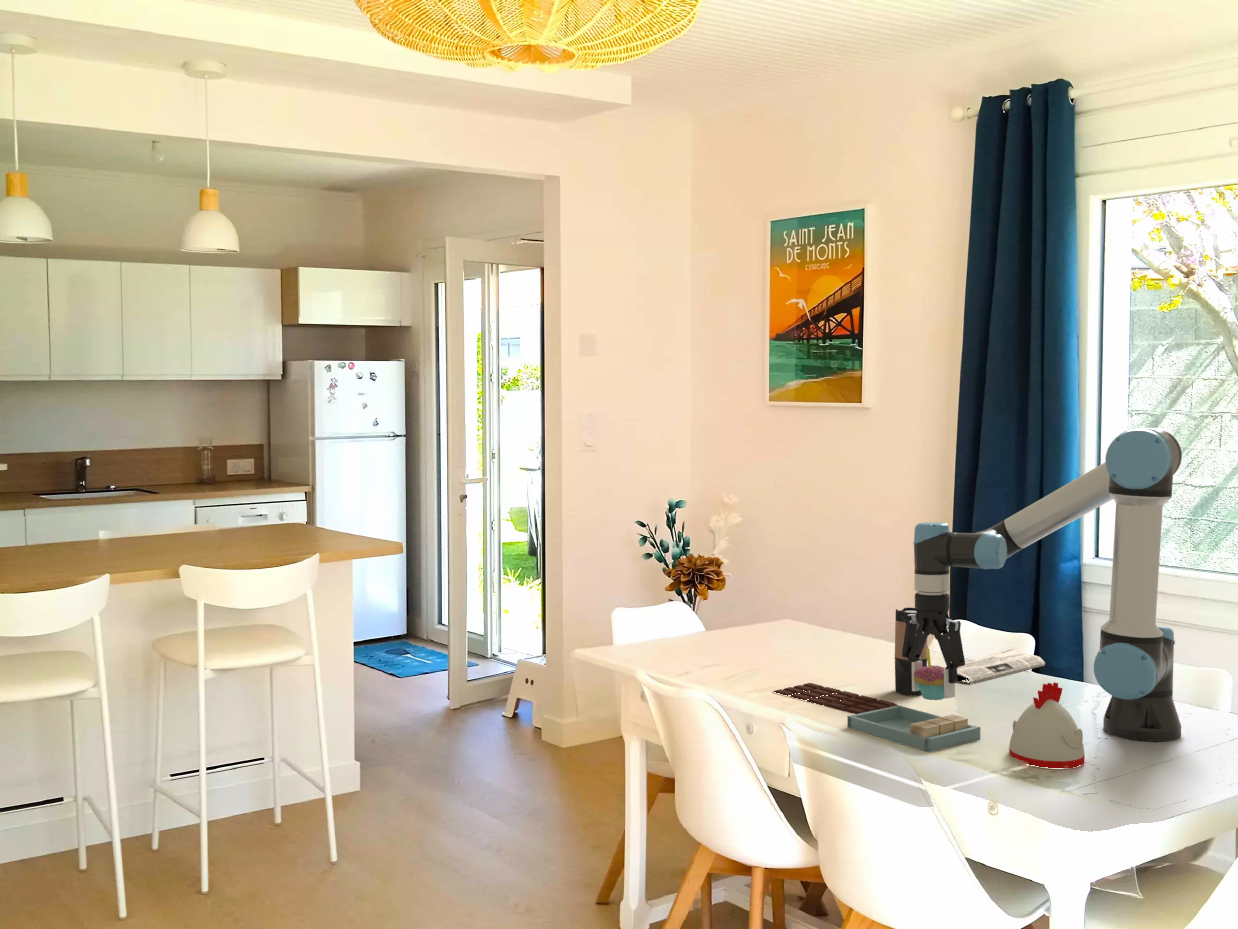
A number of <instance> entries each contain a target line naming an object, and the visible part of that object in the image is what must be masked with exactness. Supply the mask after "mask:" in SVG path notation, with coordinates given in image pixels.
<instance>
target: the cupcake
mask: <svg viewBox="0 0 1238 929" xmlns="http://www.w3.org/2000/svg"><path fill="white" fill-rule="evenodd" d="M928 647H929V646H928V645H927V649H926V652H927V666H925V667H924V666H923V667H922V668H919V669H918V670H916V672H915V673H914V681H915V683H917V684H918V686H919V688H920V691H921V694H922V695H921V698H923V699H925V700H930V701H941V700H944V699H945V698H944V668H943V667H944V666H940V665H932V663H931V655H930V648H928Z"/></svg>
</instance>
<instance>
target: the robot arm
mask: <svg viewBox="0 0 1238 929" xmlns="http://www.w3.org/2000/svg"><path fill="white" fill-rule="evenodd" d="M1105 453H1106V454H1105V461H1104V462H1103V463H1101V464H1100V465H1097V466H1096V467H1095V468H1093V469H1091V470H1089V471H1087V472H1085V473H1084V474H1082V475H1080V476H1078V477H1077V478H1075V479H1074V480H1071V481H1070V482H1068V483H1066V484H1064V485H1063V486H1061V487H1059V488H1058V489H1055V490H1054V491H1052V492H1051V493H1049V494H1047V495H1046V496H1043V497H1042V498H1040V499H1038V500H1037V501H1035V502H1033V503H1031V504H1030V505H1027V506H1026V507H1024V508H1023V509H1021V510H1019V511H1017V512H1016V513H1014V514H1012V515H1011V516H1009V517H1007V518H1006V519H1003V520H1001V521H1000V522H998V523H996V524H995V525H992V526H991V527H989V528H987V529H984V530H981V531H977V532H953V531H951V530H950V527H949V524H948V523H947V522H939V521H938V522H937V521H928V522H919V523H917V524H916V525H915V527H914V534H913V535H914V536H913V544H912V545H913V553H914V554H913V555H914V556H913V559H914V561H913V563H914V585H913V586H914V590H915V591H916V592H915V593H914V608H915V609H916V610H917V613H916V614H909V615H906V616H905V621H906V629H905V636H904V643H903V650H902V656H903V657H906V658H907V659H908V660H909V661H910V675H912V691H919V690H920V688H919V686H918V684H917V683H915V681H914V673H915V672H916V670H918V669H919V668H922V661H918V660H920V659H921V658H920V656H921V653H922V650H923V648H924V645H925V642H926V640H927V641H928V637H929V636H930V635H932V636H934V638H935V640H936V641H937V643H938V646H939V649H940V651H941V654H942V657H943V659H944V663H945V665H946V666H944V667H945V668H944V699H946V700H947V699H951V698H955V697H956V683H957V682H958V676H957V668H958V667H961V666H964V665H965V663H966V661H965V655H964V650H963V649H964V648H963V642H962V636H961V625H962V623H961V621H960V620H953V619H950V616H949V611H950V608H951V599H950V598H951V596H950V594H949V593H948V592H949V591H950V567H952V568H955V567H957V568H971V569H982V570H989V569H991V570H993V569H994V570H999V569H1001V568H1003V567H1004V565H1005V563H1006V560H1007V559H1010V558H1011V557H1012V556H1013V555H1014V554H1016V553H1018V552H1020V551H1022V550H1023V549H1025V548H1027V547H1028V546H1031V545H1032V544H1034V543H1035V542H1037V541H1039V540H1041V539H1043V538H1044V537H1046V536H1048V535H1050V534H1052V533H1054V532H1056V531H1058V530H1059V529H1061V528H1063V527H1065V526H1066V525H1068V524H1069V525H1070V523H1072V522H1074V521H1076V520H1078V519H1080V518H1081V517H1083V516H1085V515H1087V514H1089V513H1090V512H1092V511H1094V510H1096V509H1097V508H1099V507H1101V506H1103V505H1105V504H1106V503H1109V502H1110V501H1112V500H1114V502H1115V518H1114V533H1113V534H1114V537H1113V552H1112V555H1113V556H1112V567H1111V568H1112V570H1111V582H1110V586H1111V588H1110V603H1109V604H1110V605H1109V618H1108V620H1107V621H1106V622H1105V623H1103V624H1102V625H1101V626H1100V636H1099V637H1100V638H1099V651H1098V652H1097V653H1096V656H1095V658H1094V661H1093V674H1094V678H1095V680H1096V682H1097V683H1098V685H1099V687H1101V688H1102V690H1104V692H1105V693H1108V694H1109V695H1110V696H1111V697H1110V699H1109V702H1108V706H1107V707H1106V710H1105V713H1104V715H1103V723H1102V724H1103V728H1102V729H1103V730H1104V731H1105V732H1107V733H1109V734H1112V735H1114V736H1118V737H1121V738H1125V739H1128V740H1129V739H1130V740H1137V741H1144V742H1145V741H1146V742H1149V741H1150V742H1168V741H1169V742H1170V741H1174V740H1177V739H1180V738H1181V737H1182V723H1181V721H1180V718H1179V714H1178V710H1177V709H1176V705H1175V701H1174V697H1173V693H1174V692H1173V691H1174V689H1173V688H1174V656H1175V654H1174V653H1175V651H1174V650H1175V647H1174V646H1175V644H1176V640H1175V636H1174V630H1173V629H1172V628H1171V627H1169V626H1163V625H1157V623H1156V621H1157V620H1156V619H1157V607H1158V606H1157V605H1158V588H1159V587H1158V586H1159V576H1160V575H1159V573H1160V571H1159V570H1160V557H1161V555H1160V554H1161V541H1162V540H1161V538H1162V525H1163V522H1162V521H1163V520H1162V519H1163V506H1164V505H1165V504H1166V503H1168V501H1169V500H1171V499H1172V496H1173V484H1174V483H1173V482H1174V475H1175V474H1176V473H1177V471H1178V470H1179V468H1180V465H1181V464H1182V460H1183V459H1182V458H1183V454H1182V453H1183V452H1182V448H1181V445H1180V443H1179V441H1178V439H1176V437H1175V436H1174V435H1172V434H1171V433H1170V432H1168V431H1167V430H1165V429H1162V428H1159V427H1138V428H1136V427H1134V428H1133V427H1132V428H1131V429H1127V430H1125V431H1123V432H1122V433H1120V434H1119V435H1117V436H1116V437H1115V438H1114V439H1113V440H1112V441H1111V442H1110V444H1109V446H1108V448H1107V451H1106V452H1105ZM917 622H918V624H919V626H918V629H917ZM916 634H917V635H916Z"/></svg>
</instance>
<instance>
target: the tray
mask: <svg viewBox="0 0 1238 929" xmlns="http://www.w3.org/2000/svg"><path fill="white" fill-rule="evenodd" d="M897 705H898V704H897ZM940 717H941V716H940V715H935V714H932V713H928V712H925V711H922V710H917V709H915V708H911V707H906V706H903V705H898V706H893V707H888V708H884V709H879V710H874V711H869V712H865V713H860V714H851V715H847V718H846V719H847V724H846V725H847V726H846V727H847V728H848V729H851V730H855V731H858V732H862V733H865V734H868V735H871V736H874V737H878V738H880V739H884V740H888V741H889V742H894V743H898V744H901V745H904V746H907V747H911V748H913V749H916V750H917V749H918V750H920V751H923V752H927V753H930V752H934V751H938V750H941V749H946V748H950V747H953V746H957V745H962V744H966V743H969V742H973V741H978V740H981V727H980V726H978V725H973V724H969V723H968V728H967V729H963V730H959V731H955V732H950V733H946V734H942V735H938V736H934V737H930V738H927V737H923V736H920V735H916V734H913V733H910V724H913V723H917V722H922V721H926V720H931V719H935V718H940Z"/></svg>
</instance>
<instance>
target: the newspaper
mask: <svg viewBox="0 0 1238 929" xmlns="http://www.w3.org/2000/svg"><path fill="white" fill-rule="evenodd" d="M1045 665H1046V662H1045V661H1044V660H1043V659H1042V658H1041V657H1040V656H1038V655H1034V654H1031V653H1024V652H1020V651H1017V650H1016V649H1014V648H1013V647H1009V648H1006V649H1003V650H1001V651H1000V650H999V651H998V652H996V653H992V654H990V655H987V656H983V657H981V658H979V659H975V660H973V661H967V662H965V665H964V666H961V667H958V668H957V677H958V676H960V677H964V679H965V681H966V679H967V678H968V679H967V680H968V681H969V680H970V682H969V684H968V685H974V684H978V683H982V682H986V681H989V679H990V680H992V679H993V678H994V679H997V677H998V678H1000V677H1001V676H1002V677H1006V676H1010V675H1014V674H1017V673H1021V672H1026V671H1028V670H1033V669H1037V668H1040V667H1044V666H1045ZM942 667H943V668H945V667H946V666H942ZM1005 675H1006V676H1005ZM1002 677H1001V678H1002ZM985 680H986V681H985ZM981 681H982V682H981ZM977 682H978V683H977ZM973 683H974V684H973Z"/></svg>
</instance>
